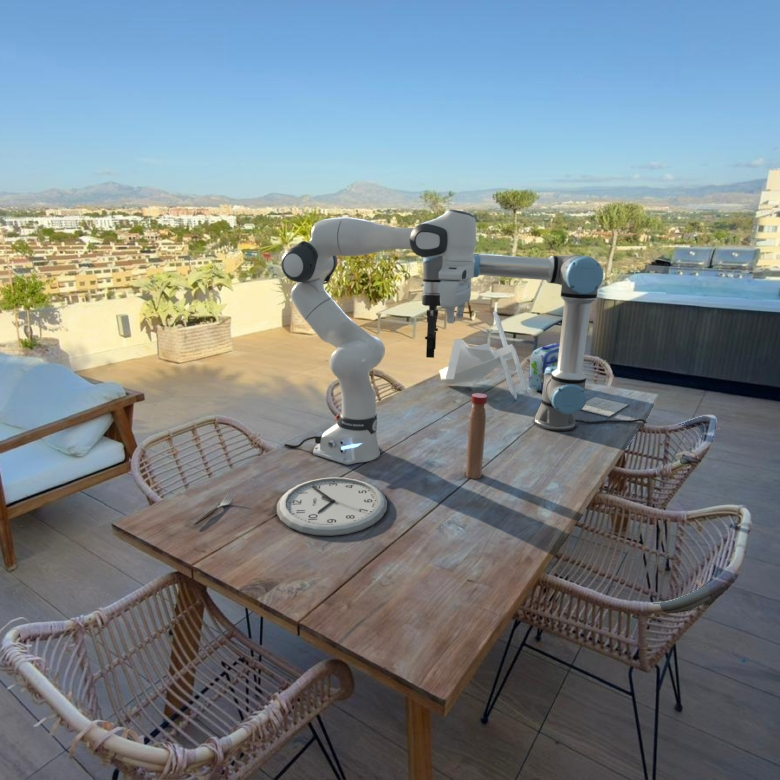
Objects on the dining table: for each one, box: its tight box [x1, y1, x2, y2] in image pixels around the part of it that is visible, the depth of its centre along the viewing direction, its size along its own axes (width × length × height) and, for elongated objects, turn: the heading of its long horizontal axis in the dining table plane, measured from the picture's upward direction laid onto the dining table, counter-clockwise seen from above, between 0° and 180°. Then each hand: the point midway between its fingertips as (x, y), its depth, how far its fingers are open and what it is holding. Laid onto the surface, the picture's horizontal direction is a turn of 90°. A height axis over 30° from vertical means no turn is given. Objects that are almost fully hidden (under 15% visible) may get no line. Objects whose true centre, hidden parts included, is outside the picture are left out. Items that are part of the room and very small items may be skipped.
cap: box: [471, 392, 488, 405], centre depth 154 cm, size 4×4×2 cm
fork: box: [193, 490, 237, 526], centre depth 138 cm, size 3×16×2 cm, turn 160°
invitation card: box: [580, 396, 629, 418], centre depth 226 cm, size 21×1×15 cm
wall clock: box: [276, 476, 388, 537], centre depth 142 cm, size 30×2×30 cm
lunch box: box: [528, 343, 560, 392], centre depth 249 cm, size 26×11×21 cm, turn 134°
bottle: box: [465, 403, 487, 480], centre depth 158 cm, size 5×5×26 cm
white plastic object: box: [438, 310, 531, 400], centre depth 245 cm, size 37×45×31 cm
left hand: (455, 320), depth 150 cm, fingers open, 8 cm apart
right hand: (431, 353), depth 189 cm, fingers open, 13 cm apart
